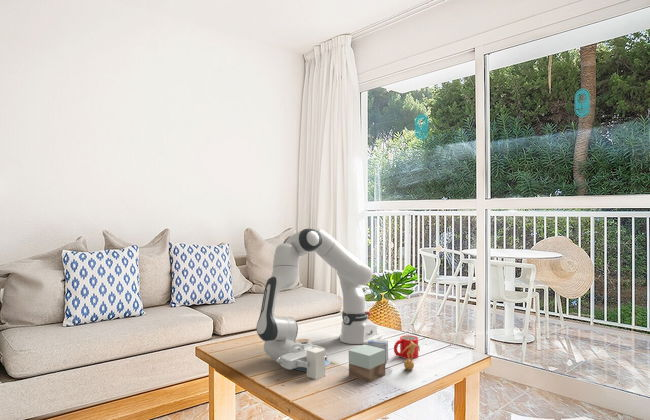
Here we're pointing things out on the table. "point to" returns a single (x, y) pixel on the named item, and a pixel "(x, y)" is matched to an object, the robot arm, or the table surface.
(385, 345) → the medicine box
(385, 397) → the table surface
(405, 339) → the mug
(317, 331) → the table surface
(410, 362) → the figurine
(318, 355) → the tall block
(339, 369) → the table surface
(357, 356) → the tower top
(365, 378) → the tower bottom
